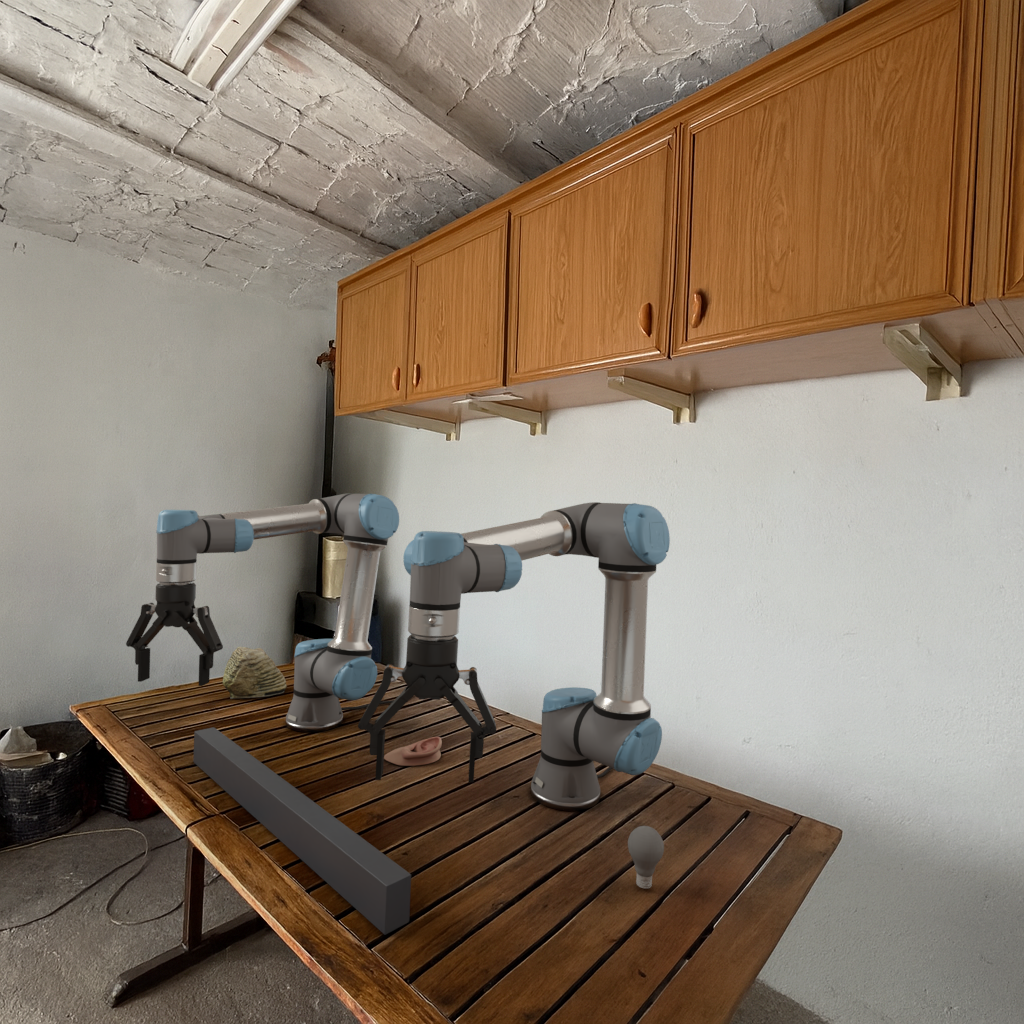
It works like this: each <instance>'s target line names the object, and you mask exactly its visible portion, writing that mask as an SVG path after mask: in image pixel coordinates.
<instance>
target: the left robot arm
mask: <svg viewBox="0 0 1024 1024" xmlns="http://www.w3.org/2000/svg"><path fill="white" fill-rule="evenodd" d="M156 522H157V523H156V524H157V525H156V532H155V533H156V569H155V570H156V571H155V580H156V582H157V584H156V585H155V601H156V604H155V603H153V602H147V603H144V604H142V605H141V608H140V614H139V617H138V618H137V620H136V621H135V622H136V623H135V625H134V626H133V628H132V630H131V633H130V634H129V636H128V638H127V640H126V642H125V645H126V647H128V648H130V647H131V648H133V649H134V651H135V652H134V663H135V665H136V666H137V682H139V683H142V682H144V681H146V680H148V679H150V677H151V675H150V674H151V647H149V644H150V643H151V642H152V641H153V640H154V639H155V637H156V636H157V635H158V634H159V633H160V632H161V631H162V629H163V628H164V627H166V628H169V627H174V628H182V629H183V630H184V631H186V632H187V633H188V635H189V636H190V638H191V639H192V640H193V642H194V643H195V644H196V646H197V647H198V648H199V650H200V651H201V652H202V653H201V654H199V655H198V687H203V686H205V685H207V684H209V683H210V675H211V674H210V673H211V672H210V670H211V669H212V668H213V667H214V656H215V655H214V654H215V653H216V652H219V651H221V650H223V649H224V645H223V643H222V641H221V639H220V636H219V634H218V631H217V629H216V626H215V624H214V623H213V622H214V621H213V620H212V617H211V614H210V613H211V612H210V607H209V606H208V605H205V606H201V607H196V605H195V601H196V595H197V593H196V591H197V585H196V583H195V581H196V580H197V560H198V559H197V557H198V554H199V555H200V554H201V555H202V554H203V555H204V554H222V553H233V554H236V553H243V552H247V551H249V550H250V549H251V547H252V546H253V544H254V540H261V539H268V538H273V537H274V538H275V537H282V536H290V535H296V534H303V533H309V532H313V533H314V534H316V535H321V534H339V535H340V534H341V535H343V540H342V542H343V543H344V545H345V546H346V547H347V552H346V558H345V565H344V573H343V577H342V579H343V580H342V585H341V591H340V599H339V606H338V612H337V618H336V625H335V632H334V638H318V639H308V640H304V641H300V642H299V643H297V644H296V646H295V650H294V655H293V657H294V672H293V673H294V674H293V695H292V696H293V697H292V699H291V702H290V704H289V708H288V711H287V713H286V715H285V726H286V728H287V729H289V730H291V731H294V732H295V731H296V732H301V733H316V732H325V731H329V730H332V729H335V728H337V727H339V726H340V725H342V723H343V722H344V714H343V711H351V710H352V711H353V710H362V709H367V707H368V706H369V704H370V703H367V704H363V705H358V706H344V707H343V706H341V702H340V699H341V700H346V701H357V700H359V699H362V698H364V697H365V696H366V695H367V693H368V692H370V691H371V690H372V688H374V685H375V684H376V681H377V678H378V666H377V664H376V663H375V661H374V660H373V659H372V651H373V646H371V645H372V644H370V642H369V641H368V639H369V634H370V632H369V631H370V626H371V619H372V613H373V612H372V611H373V604H374V596H375V591H376V584H377V578H378V571H379V570H378V569H379V565H380V557H381V552H382V551H383V550H385V549H387V547H388V542H389V539H390V538H392V537H394V534H396V532H397V531H398V528H399V525H400V513H399V510H398V508H397V506H396V504H395V503H394V502H393V500H392V499H390V498H389V497H387V496H385V495H382V494H377V493H355V492H353V493H352V492H349V493H347V492H346V493H342V494H336V495H332V496H327V497H321V498H314V499H311V500H310V501H309V502H308V503H302V504H294V505H284V506H275V507H267V508H258V509H249V510H242V511H233V512H223V513H218V514H217V513H216V514H207V515H199V514H198V511H196V510H193V509H163V510H161V511H160V512H158V515H157V521H156ZM154 614H156V616H157V618H156V619H155V620H154V621H153V622H152V624H151V626H150V627H149V628H148V629H147V627H148V625H149V624H150V621H151V620H152V618H153V615H154ZM194 615H195V617H194ZM195 618H197V620H198V621H197V620H196V619H195ZM198 623H199V624H198ZM199 625H200V626H199ZM146 630H147V631H146ZM394 700H395V699H391V700H383V701H382V700H381V702H380V704H379V705H378V706H381V705H388V704H391V703H392V702H393V701H394Z"/></svg>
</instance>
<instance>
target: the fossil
mask: <svg viewBox="0 0 1024 1024" xmlns="http://www.w3.org/2000/svg"><path fill="white" fill-rule="evenodd" d="M222 676H223V677H222V685H223V687H224V688H225V690H226V691H228V693H229V698H230V699H250V698H264V697H271V696H275V695H281V694H284V693H285V691H286V689H287V687H288V686H287V680H286V678H285V676H284V674H283V673H282V672H281V669H279V668H278V667H277V665H276V663H275V662H274V660H273V659H272V658H271V657H270V656H269V655H268V654H267V653H266V652H265V650H264V649H263V648H260V647H258V648H251V647H247V646H246V647H245V646H238V647H237V648H236V649H235V650H233V651H232V653H231V656H230V657H229V659H228V660H227V663H226V666H225V668H224V671H223V675H222Z"/></svg>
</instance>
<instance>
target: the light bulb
mask: <svg viewBox="0 0 1024 1024" xmlns="http://www.w3.org/2000/svg"><path fill="white" fill-rule="evenodd" d="M627 849H628V852H629V855H630V857H631V859H632V861H633V863H634V870H635V872H636V877H635V879H636V880H635V884H636V886H638V887H639V888H641V889H644V890H647V889H650V888H651V887H652V886H653V875H654V874H655V871H656V867H657V865H658V864H659V862H660V861H661V860H662V858H663V856H664V852H665V843H664V840H663V838H662V836H661V834H660V833H659V832H658V831H657V830H656V829H655V828H653V827H652V826H650V825H649V826H648V825H640V826H638V827H636V828H634V829H633V830H632V831H631V832H630V834H629V836H628V839H627Z"/></svg>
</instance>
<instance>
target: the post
mask: <svg viewBox="0 0 1024 1024" xmlns="http://www.w3.org/2000/svg"><path fill="white" fill-rule="evenodd" d="M193 735H194V736H193V760H192V761H193V762H192V763H193V764H194V765H196V766H197V767H198V768H199V769H200V770H201V771H203V772H204V773H205V774H206V775H207V776H208V777H209V778H210V779H212V781H214V782H215V784H217V785H218V786H219V787H220V788H221V789H222V790H224V791H225V792H226V793H227V794H228V795H229V796H230V797H231V798H232V799H233V800H235V802H237V803H238V804H239V805H240V806H241V807H242V808H243V809H245V810H246V812H248V813H249V814H250V815H251V816H252V817H253V818H255V819H256V820H257V821H258V822H259V823H260V825H262V826H264V828H265V829H267V830H268V832H269V833H271V834H272V835H273V836H275V837H276V838H277V839H278V840H279V841H280V842H281V843H282V844H283V845H284V846H285V847H287V848H288V849H289V850H290V851H291V852H292V853H293V854H294V855H295V856H296V857H298V858H299V859H300V860H301V861H302V862H303V863H304V864H305V865H307V866H308V867H309V868H310V869H311V870H312V871H313V872H314V873H315V874H317V875H318V876H319V877H320V878H321V879H322V880H323V881H324V882H325V883H327V884H328V885H329V886H330V887H331V888H332V889H333V890H334V891H335V892H336V893H338V894H339V895H340V897H342V898H343V899H344V900H345V901H347V902H348V903H349V904H350V905H351V906H352V907H353V908H354V909H356V911H357V912H358V913H360V914H361V915H362V916H363V917H364V918H365V919H366V920H368V922H370V923H371V924H372V925H373V926H374V927H375V928H377V930H379V931H380V932H381V933H382V934H383V935H384V936H385V935H388V934H390V933H391V932H393V931H395V930H398V928H401V927H402V926H404V925H406V924H407V923H410V914H411V913H410V912H411V911H410V910H411V891H412V890H411V889H412V874H411V873H410V872H408V871H407V870H406V869H405V868H403V867H402V866H400V865H399V864H398V863H396V861H394V860H393V859H391V858H390V857H389V856H387V855H386V854H384V853H383V852H382V851H381V850H379V849H378V848H377V847H375V846H374V845H372V844H371V843H369V842H368V841H367V840H366V839H364V838H363V837H362V836H361V835H359V834H358V833H357V832H355V831H353V830H352V829H351V828H350V827H348V826H347V825H346V824H344V823H343V822H341V821H340V820H339V819H338V818H336V817H335V816H333V815H332V814H331V813H329V812H328V811H327V810H325V809H324V808H323V807H321V806H320V805H319V804H317V802H315V801H313V800H312V799H311V798H310V797H308V796H307V795H305V794H304V793H303V792H301V791H300V790H299V789H298V788H296V787H295V786H293V785H292V784H291V783H289V782H288V781H287V780H286V779H284V778H282V777H281V776H280V775H278V774H277V773H276V772H275V771H273V770H272V769H271V768H269V767H268V766H267V765H265V764H264V763H262V762H261V761H260V760H259V759H257V758H256V757H255V756H253V755H252V754H251V753H249V752H248V751H247V750H245V749H244V748H243V747H242V746H240V745H239V744H237V743H236V742H234V741H233V740H232V739H230V738H229V737H228V736H226V735H225V734H223V732H221V731H220V730H218V729H217V728H216V727H215V726H213V727H209V728H208V727H207V728H203V729H198V730H194V733H193Z"/></svg>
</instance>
